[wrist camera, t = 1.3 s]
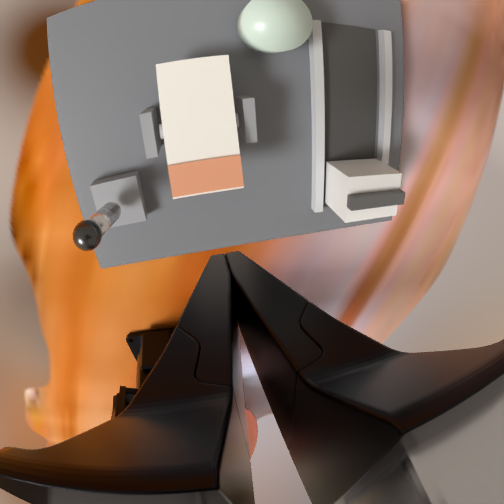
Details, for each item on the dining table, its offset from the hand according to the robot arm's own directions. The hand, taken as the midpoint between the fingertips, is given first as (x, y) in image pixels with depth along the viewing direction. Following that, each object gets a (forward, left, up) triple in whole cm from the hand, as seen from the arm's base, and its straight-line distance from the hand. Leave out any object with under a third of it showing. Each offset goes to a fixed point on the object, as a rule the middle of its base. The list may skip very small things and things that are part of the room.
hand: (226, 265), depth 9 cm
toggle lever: (-1, +5, -9) cm, 11 cm away
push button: (+8, -5, -11) cm, 14 cm away
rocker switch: (+3, 0, -9) cm, 9 cm away
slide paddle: (-2, -10, -11) cm, 15 cm away
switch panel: (+3, -3, -13) cm, 14 cm away
